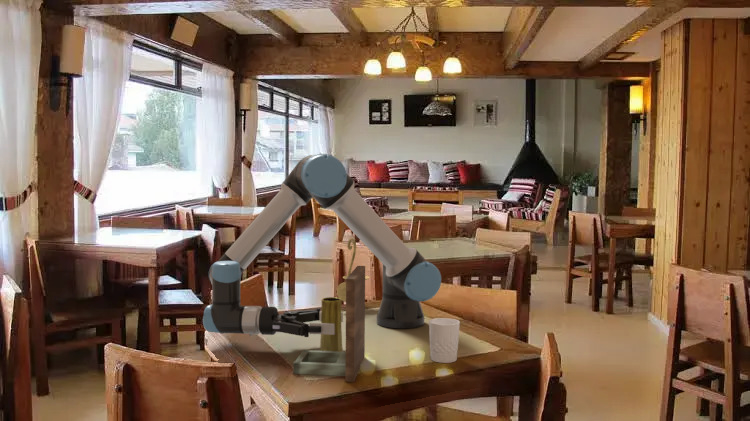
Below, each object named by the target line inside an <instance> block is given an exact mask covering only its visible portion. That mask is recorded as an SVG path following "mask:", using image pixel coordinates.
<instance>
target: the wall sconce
mask: <svg viewBox="0 0 750 421" xmlns="http://www.w3.org/2000/svg"><path fill="white" fill-rule="evenodd" d="M351 242H352V244H353V245H351ZM347 248H348V250H350V251H351V250H352V249H353V250H352V254H351V258H350V264H349V267H348V270H347V275H344V276H342V278H343V279H344V280H345V281H344V282H341V283H339V285H337V288H336V296H337V298H341V302H345V303H346V278H347V277H348V276H349V275H350V274H351V273H352V268H353V264H354V261H355V258H356V253H357V243H356V239H355V238H354V237H350V238H349V239H348V242H347ZM369 279H370V276H368V275H365V281H366V280H369Z"/></svg>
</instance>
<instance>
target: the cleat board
mask: <svg viewBox="0 0 750 421" xmlns="http://www.w3.org/2000/svg"><path fill="white" fill-rule="evenodd" d="M365 276H366V265H357V266H356V267H355V268H354V269H353V270H352V271H351V274H350V275H349V276H348V277H347V278H346V280H345V282H346V302H345V351H342V352H341V351H320V350H312V349H310V350H309V349H303V350H302V352H301V353H300V354H299V356H298V357H297V358H296V360H295V361H294V362H293V364H292V366H293V368H292V369H293V373H292V374H294V375H298V374H299V375H311V376H312V375H317V376H318V375H319V376H335V377H336V376H338V377H339V376H340V377H344V378H345V383H355V381H356V378H357V376H358V374H359V371H360V369H361V366H362V364H363V362H364V359H365V354H366V352H365V351H366V350H365V348H366V347H365V346H366V345H365V343H366V342H365V341H366V340H365V339H366V337H365V335H366V334H365V333H366V332H365V331H366V330H365V329H366V328H365V327H366V324H365V323H366V280H365Z"/></svg>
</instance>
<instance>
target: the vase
mask: <svg viewBox="0 0 750 421" xmlns="http://www.w3.org/2000/svg"><path fill="white" fill-rule="evenodd" d="M321 311H322V313H321V322H320V323H329V324H335V334H334V335H327V334H320V343H319V344H320V347H319V351H341V352H344V350H343V335H342V334H343V332H342V322H341V312H342V300H341V298H339V297H338V296H337V297H335V296H329V297H322V299H321Z"/></svg>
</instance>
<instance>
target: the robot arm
mask: <svg viewBox="0 0 750 421" xmlns="http://www.w3.org/2000/svg"><path fill="white" fill-rule="evenodd" d="M280 186H281V187H280V190H279V191H278V193H276V195H275V196H273V198H272V199H271V200H270V202H269V203H268V204H267V205H266V206H265V207H264V209H263V210H261V211H260V213H259V214H258V215H257V216H256V217H255V219H253V221H252V222H251V223H250V224H249V225H248V226H247V228H245V230H244V231H243V232H242V233H241V234H240V235H239V237H238V238H237V239H236V240H235V241H234V242H233V243H232V244H231V246H230V247H229V248H228V249H227V250H226V251H225V252H224V254H223V255H221V257H220V258H219V259H218V261H217V260H216V262H214V263H213V264H212V265H211V266H210V268H209V270H208V281H209V282H210V283H211V288H212V299H211V300H212V301H211V302H212V303H211V304H209V305H207V306H206V307H205V308H204V311H203V317H202V324H203V325H202V326H203V328H204V330H206V331H207V332H208V333H216V334H221V335H222V334H243V335H247V334H249V337H252V336H253V335H259V334H261V335H266V336H267V335H268V336H270V335H271V336H273V335H275V334H276V333H283V334H288V335H295V336H301V337H304V338H309V335H321V334H327V335H334V334H335V324H329V323H321V313H322V310H321V308H319V307H317V308H316V309H306V310H305V309H304V310H303V309H302V310H285V311H283V313H282V314H280V313H279V310H278V308H277V307H276V306H265V305H264V306H261V305H241V300H242V299H241V278H242V274H243V272H244V271H246V269H247V268H248V267H249V265H251V263H252V262H253V261H254V260H255V258H256V257H257V256H258V255H259V254H260V253H261V251H262V250H263V249H264V248H265V247H266V246H267V245H268V244H269V243H270V242H271V240H272V239H273V238H274V237H275V236H276V235H277V233H278V232H279V231H280V230H281V229H282V228H283V226H284V225H285V224H286V223H287V222H289V220H290V219H291V218H292V216H293V215H294V214H296V212H297V211H298V210H299V208H300V207H302V206H306V205H307V204H308V203H309V202H311V201H312V199H314V200H315V201H316V202H317V203H318V204H319V205H320V207H322V209H323V210H332V211H333V212H334V213H335V215H336V216H338V218H339V220H341V221H342V223H344V225H346V226H347V227H348V228H349V229H350V231H351V232H352V233H353V234H354V235H356V237H357V238H358V239H359V240H360V241H361V242H362V243H363V244H364V245H365V246H366V248H368V250H369V251H370V252H371V253H372V254H373V256H375V257H376V259H378V261H380V263H381V264H382V299H381V302H380V306H379V309H378V311H377V316H376V324H377V325H379V326H381V327H384V328H392V329H412V328H413V329H414V328H419V327H422V326H424V324H425V315H424V311H423V308H422V305H421V302H426V301H429V300H431V299H433V298H434V297H435V296H436V294H438V292H439V290H440V288H441V286H442V275H441V271H440V269H439V268H438V267H437V266H436V265H435V264H433V263H432V262H429V261H427V260H426V258H425V257H424V256H423V255H422V254H421V253H420V252H419V251H418V250H417V249H416V248H415V247H407V245H406V244H405V243H404V242H403V241H402V240H401V239H400V237H399V236H398V235H397V234H396V233H395V232H394V231H393V230H392V229H391V228H390V227H389V226H388V224H387V223H386V222H385V221H384V220H383V219H382V218H381V216H379V214H378V213H376V211H375V210H374V209H373V208H372V207H371V206H370V205H369V204H368V203H367V201H366V200H365V199H364V198H363V197H362V196H361V195H360V194H359V192H357V191H356V190H355V180H354V179H353V178H352V177H351V176H350V174H348V172H347V170H346V167H345V166H344V164H343V163H342V161H340V160H339V159H338V157H336V156H333V155H331V154H327V153H319V154H318V153H317V154H310V155H306V156H304V157H303V158H302V159H300V160H299V161H298V163H296V164H295V166H294V167H293V169H292V170H291V171H290V173H289V174H288V175H287V177H286V178H285V179H284V180H283V181H282V182H281V184H280ZM317 321H319V323H318V322H317ZM308 322H309V323H308ZM343 322H344V311H341V323H343Z"/></svg>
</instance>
